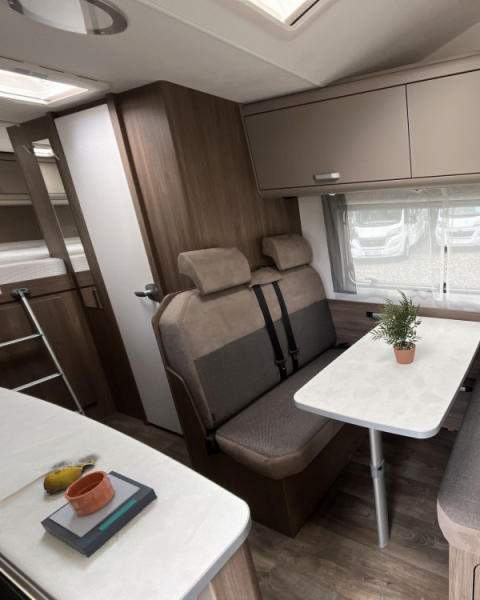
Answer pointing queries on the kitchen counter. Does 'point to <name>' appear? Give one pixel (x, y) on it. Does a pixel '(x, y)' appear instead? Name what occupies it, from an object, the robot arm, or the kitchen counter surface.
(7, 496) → the kitchen counter surface
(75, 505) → the bowl
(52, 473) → the fruit
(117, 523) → the scale
